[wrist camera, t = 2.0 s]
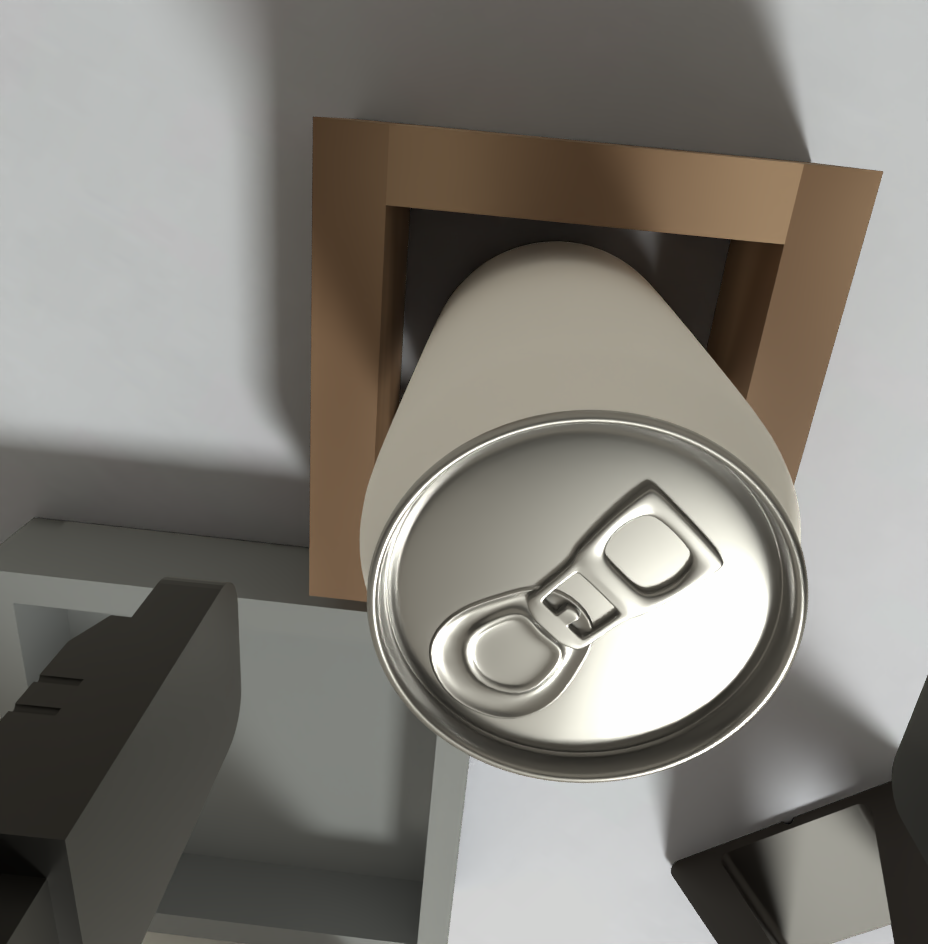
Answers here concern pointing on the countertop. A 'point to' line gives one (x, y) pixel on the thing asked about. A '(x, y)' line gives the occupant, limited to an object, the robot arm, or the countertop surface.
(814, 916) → the phone stand
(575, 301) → the can
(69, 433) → the countertop surface
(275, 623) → the tray
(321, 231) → the socket block
